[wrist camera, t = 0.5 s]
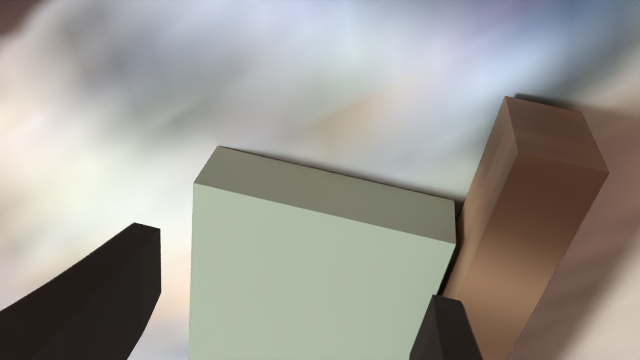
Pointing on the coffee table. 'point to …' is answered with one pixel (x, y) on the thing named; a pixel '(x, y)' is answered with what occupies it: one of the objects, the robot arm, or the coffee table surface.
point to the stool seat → (310, 262)
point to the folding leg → (520, 218)
